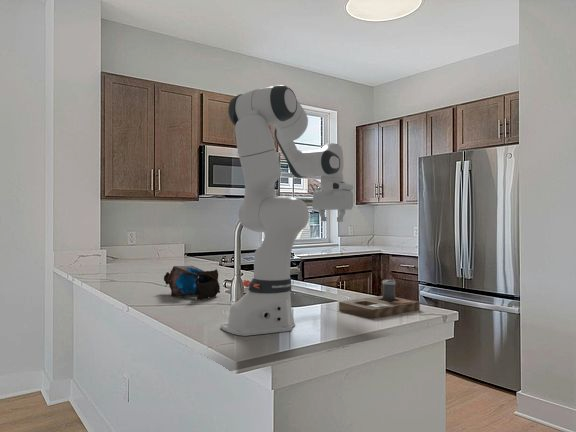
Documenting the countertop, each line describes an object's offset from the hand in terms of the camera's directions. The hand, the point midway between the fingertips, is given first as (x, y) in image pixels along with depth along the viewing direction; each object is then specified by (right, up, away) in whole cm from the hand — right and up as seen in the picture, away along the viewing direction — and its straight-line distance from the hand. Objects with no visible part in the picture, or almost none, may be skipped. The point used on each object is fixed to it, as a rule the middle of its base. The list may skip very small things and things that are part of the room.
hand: (331, 221), depth 175 cm
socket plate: (+16, -31, -16) cm, 38 cm away
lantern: (-58, -31, +10) cm, 67 cm away
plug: (+20, -31, -11) cm, 39 cm away
